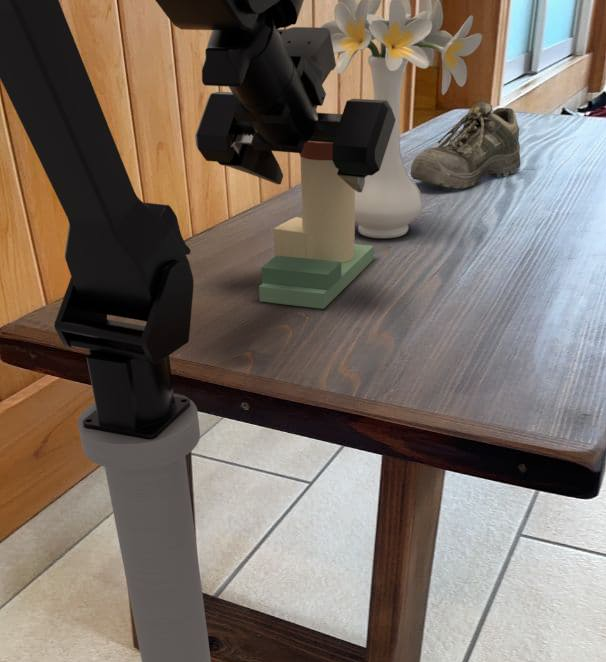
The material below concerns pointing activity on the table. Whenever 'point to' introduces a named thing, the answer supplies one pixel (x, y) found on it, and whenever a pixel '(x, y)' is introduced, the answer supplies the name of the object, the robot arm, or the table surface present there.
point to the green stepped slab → (310, 278)
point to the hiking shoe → (472, 149)
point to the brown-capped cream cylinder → (320, 211)
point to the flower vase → (395, 93)
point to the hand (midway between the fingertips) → (320, 184)
